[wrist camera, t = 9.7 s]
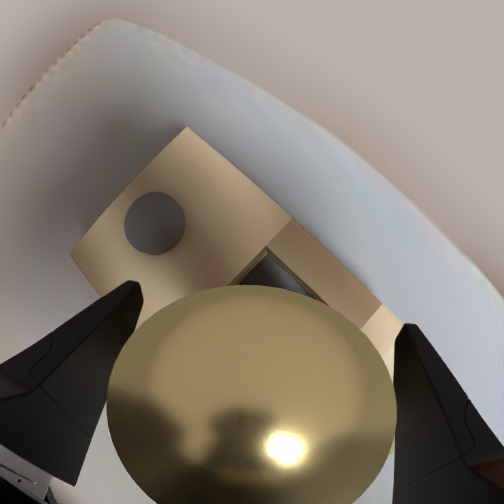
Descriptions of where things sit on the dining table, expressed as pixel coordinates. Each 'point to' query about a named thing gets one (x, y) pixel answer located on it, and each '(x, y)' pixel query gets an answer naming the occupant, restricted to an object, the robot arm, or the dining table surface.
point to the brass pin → (251, 401)
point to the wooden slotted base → (215, 241)
